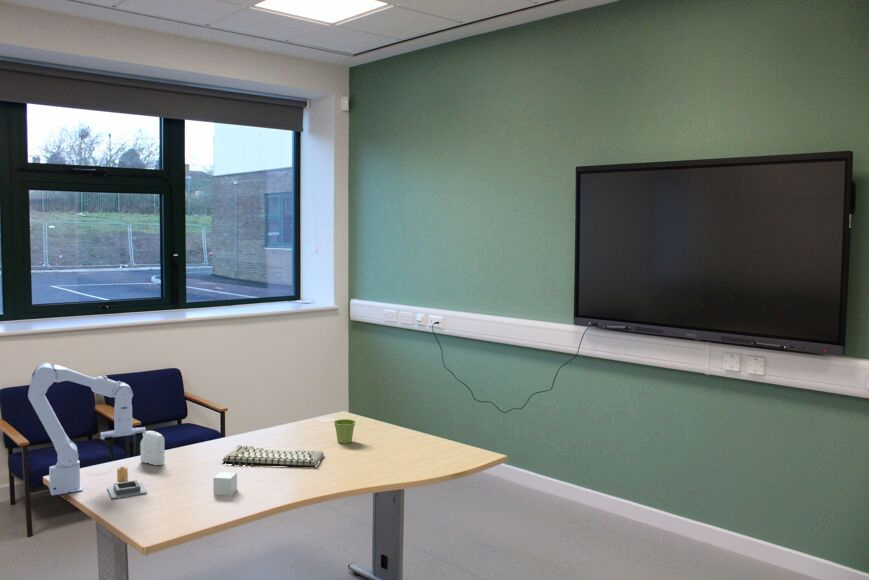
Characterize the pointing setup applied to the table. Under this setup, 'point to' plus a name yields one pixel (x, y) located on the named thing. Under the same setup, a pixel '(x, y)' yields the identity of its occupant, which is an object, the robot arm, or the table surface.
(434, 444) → the table surface
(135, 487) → the housing
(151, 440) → the white wifi router
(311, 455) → the mechanical keyboard
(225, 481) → the white cube
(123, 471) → the tan capped bottle
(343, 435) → the plant pot
